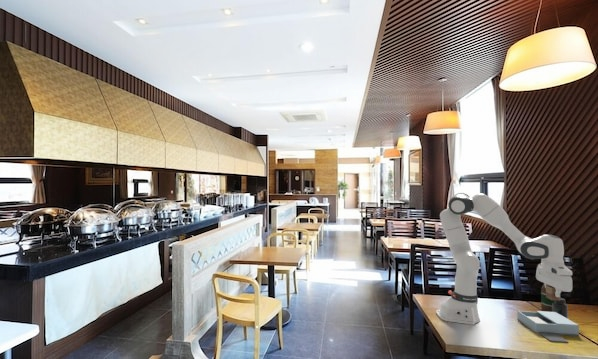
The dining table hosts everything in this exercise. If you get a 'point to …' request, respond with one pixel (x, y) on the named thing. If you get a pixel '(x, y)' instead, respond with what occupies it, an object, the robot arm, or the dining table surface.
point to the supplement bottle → (560, 307)
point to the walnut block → (551, 293)
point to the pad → (553, 337)
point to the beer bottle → (545, 301)
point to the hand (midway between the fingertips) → (552, 294)
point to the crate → (548, 322)
